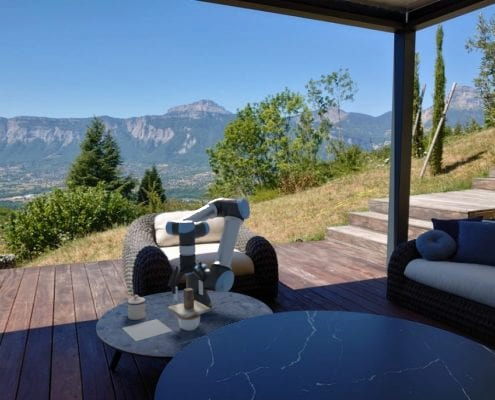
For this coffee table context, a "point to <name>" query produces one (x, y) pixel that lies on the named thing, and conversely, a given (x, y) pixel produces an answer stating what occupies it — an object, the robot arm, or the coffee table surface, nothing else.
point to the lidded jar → (189, 322)
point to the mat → (146, 329)
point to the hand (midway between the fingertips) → (188, 297)
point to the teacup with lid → (136, 308)
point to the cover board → (190, 311)
